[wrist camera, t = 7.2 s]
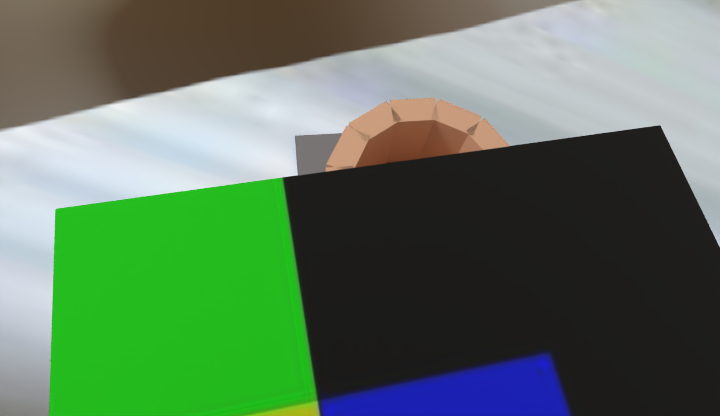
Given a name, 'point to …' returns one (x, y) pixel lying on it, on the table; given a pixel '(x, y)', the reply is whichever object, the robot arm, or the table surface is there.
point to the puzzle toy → (399, 291)
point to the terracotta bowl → (411, 134)
